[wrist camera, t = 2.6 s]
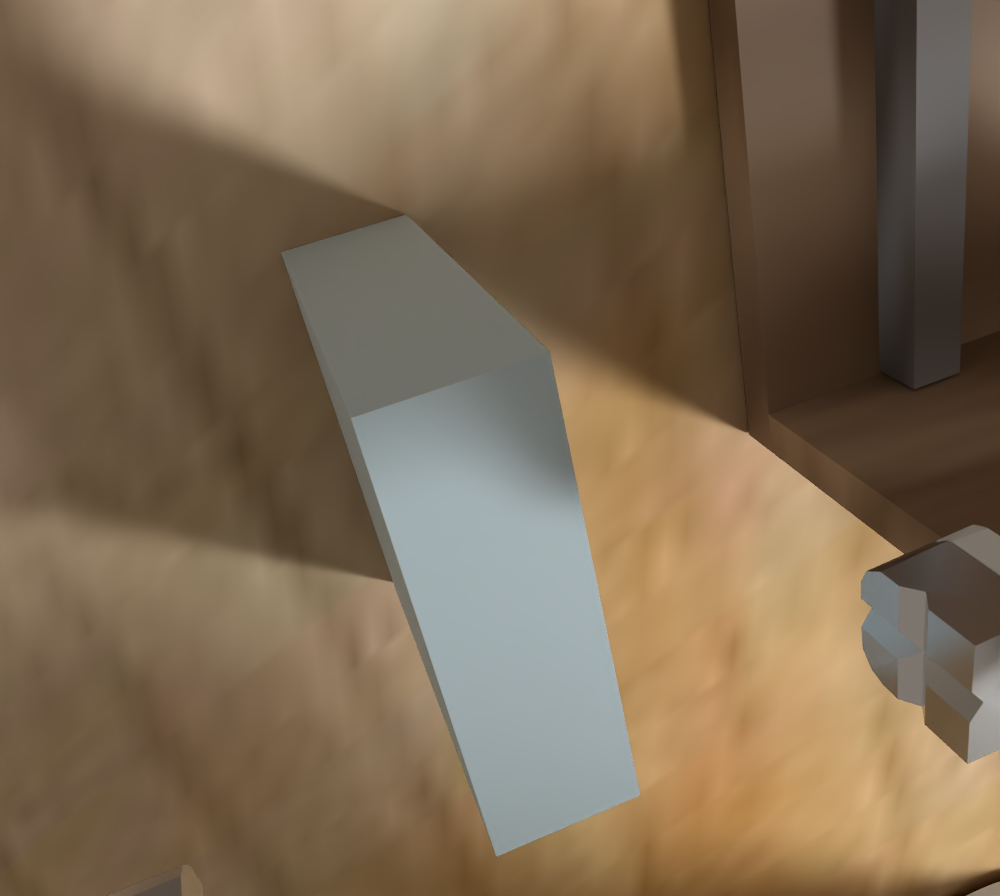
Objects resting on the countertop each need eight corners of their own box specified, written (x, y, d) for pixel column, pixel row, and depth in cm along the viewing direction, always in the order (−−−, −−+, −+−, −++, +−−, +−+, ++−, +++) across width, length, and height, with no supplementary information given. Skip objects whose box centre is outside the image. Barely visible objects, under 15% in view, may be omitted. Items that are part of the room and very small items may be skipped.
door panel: (494, 544, 22) (640, 795, 15) (392, 581, 22) (496, 856, 15) (406, 214, 18) (549, 351, 11) (280, 251, 18) (350, 418, 11)
